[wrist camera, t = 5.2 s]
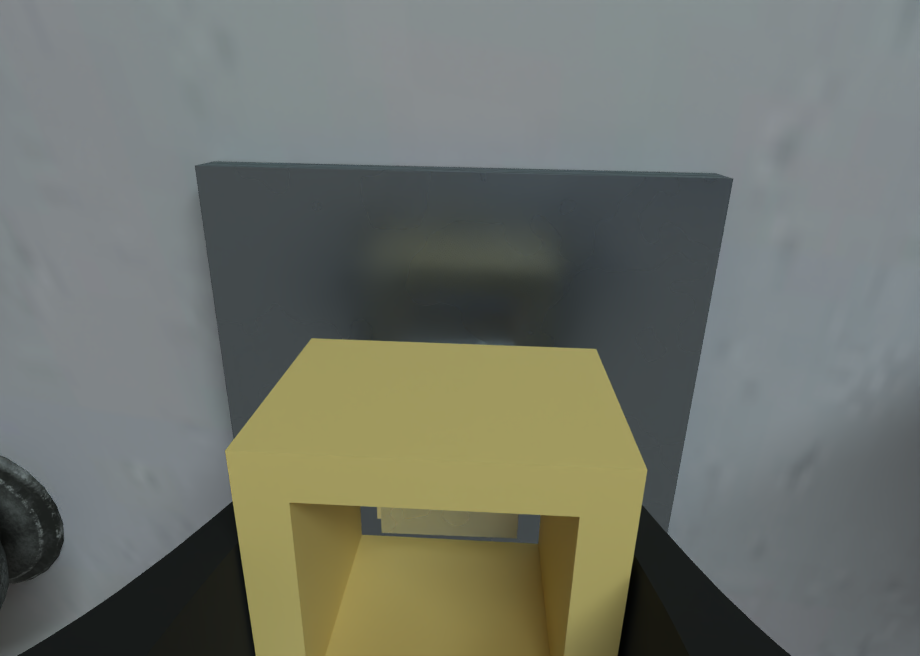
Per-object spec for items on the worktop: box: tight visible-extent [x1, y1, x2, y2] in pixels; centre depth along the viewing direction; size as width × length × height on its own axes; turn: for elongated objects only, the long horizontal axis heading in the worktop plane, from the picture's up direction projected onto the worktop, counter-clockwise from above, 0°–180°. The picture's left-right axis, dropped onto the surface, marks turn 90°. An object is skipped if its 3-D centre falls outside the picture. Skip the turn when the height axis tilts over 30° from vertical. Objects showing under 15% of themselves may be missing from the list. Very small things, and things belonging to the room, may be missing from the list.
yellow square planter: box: [225, 338, 647, 656], centre depth 10 cm, size 6×6×5 cm
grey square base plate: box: [195, 162, 733, 544], centre depth 14 cm, size 12×12×4 cm
